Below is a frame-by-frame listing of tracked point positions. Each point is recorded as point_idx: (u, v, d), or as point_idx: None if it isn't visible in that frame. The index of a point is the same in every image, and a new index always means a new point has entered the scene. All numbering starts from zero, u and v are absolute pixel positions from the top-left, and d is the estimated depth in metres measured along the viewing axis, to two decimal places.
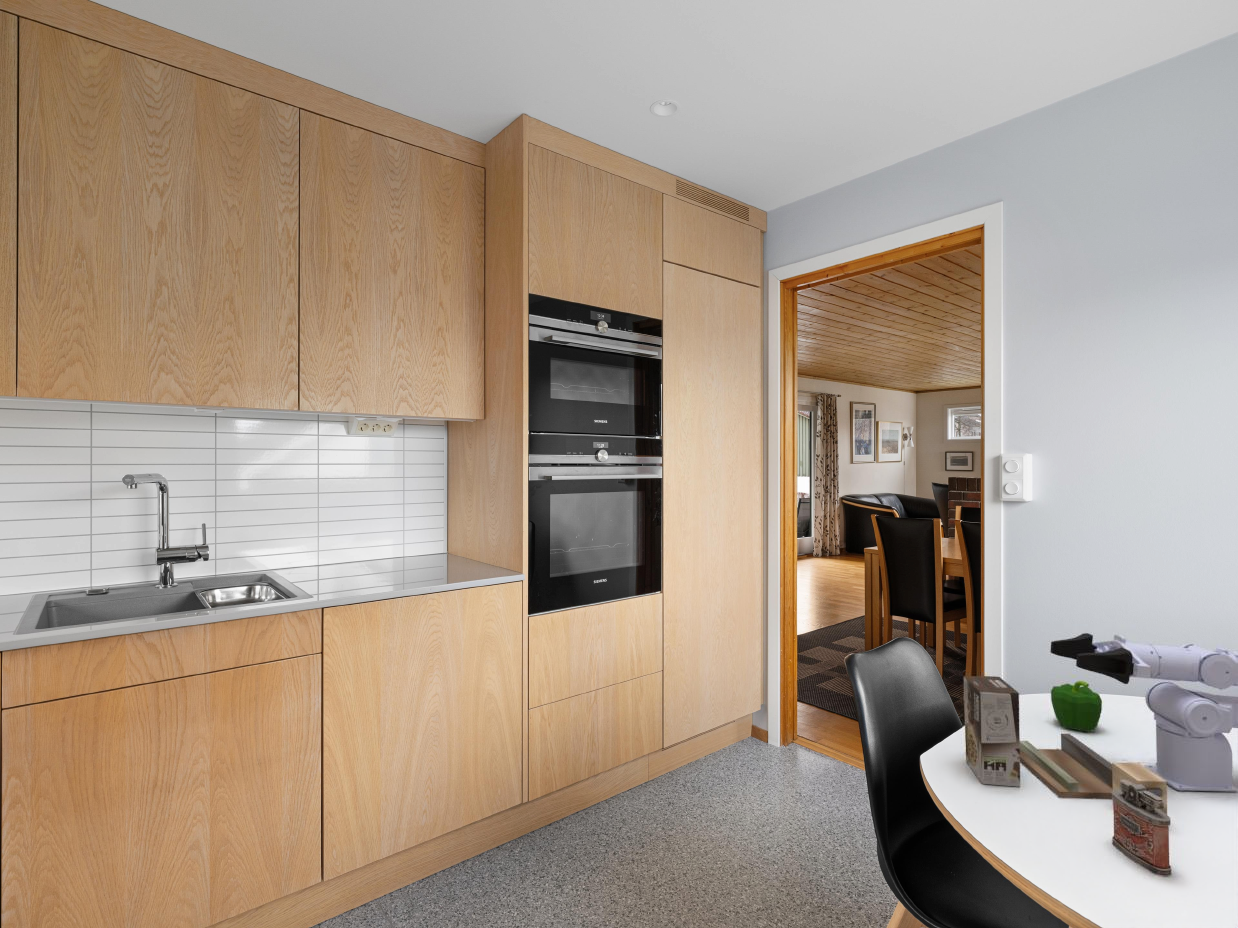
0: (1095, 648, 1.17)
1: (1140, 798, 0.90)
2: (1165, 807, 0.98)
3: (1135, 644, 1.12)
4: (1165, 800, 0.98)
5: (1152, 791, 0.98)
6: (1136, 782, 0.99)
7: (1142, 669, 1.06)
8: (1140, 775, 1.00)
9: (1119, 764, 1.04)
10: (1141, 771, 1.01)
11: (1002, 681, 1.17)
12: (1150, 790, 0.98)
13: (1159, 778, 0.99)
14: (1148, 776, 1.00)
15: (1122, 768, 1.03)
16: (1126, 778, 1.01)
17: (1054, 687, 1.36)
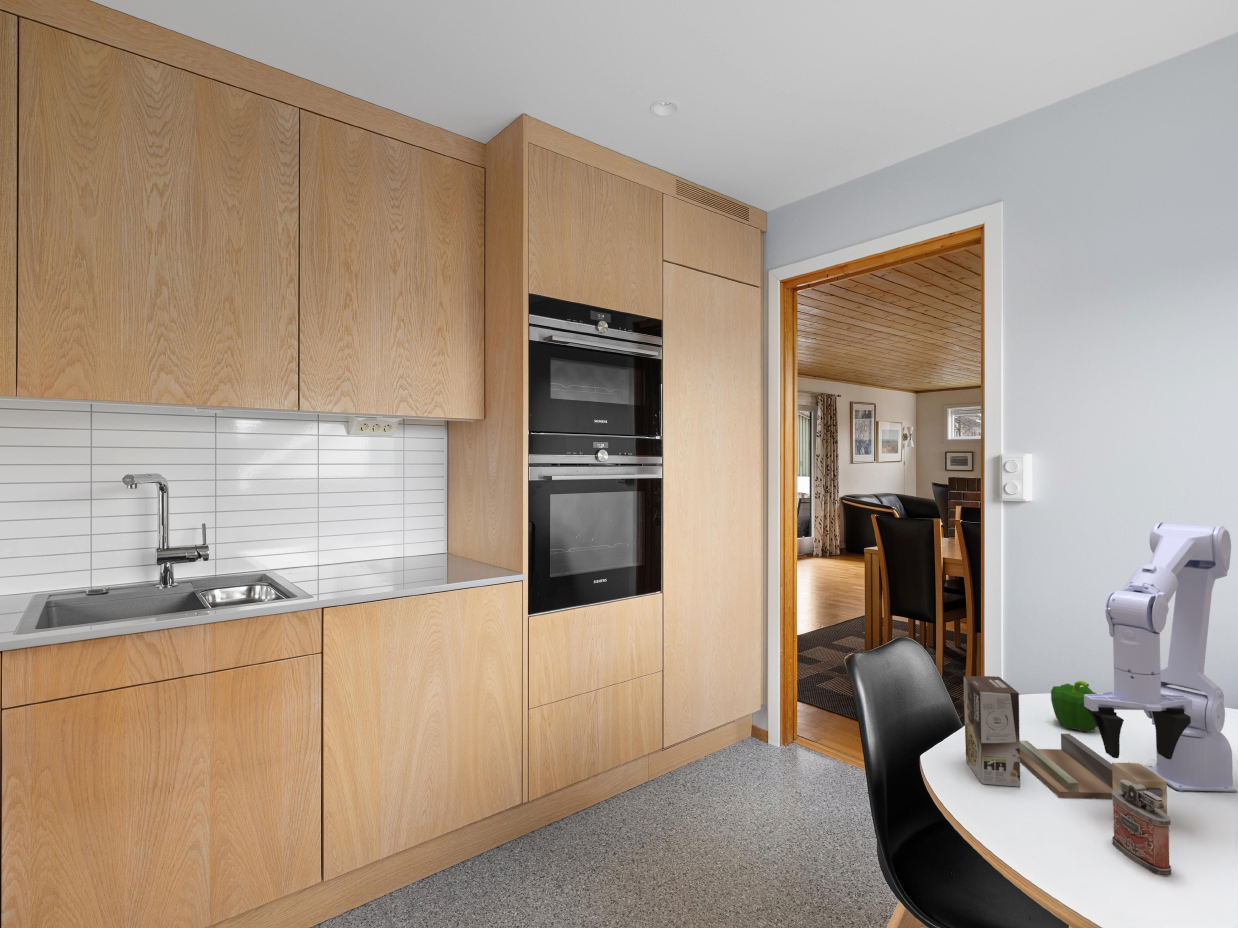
0: None
1: (1140, 798, 0.90)
2: (1165, 807, 0.98)
3: (1152, 690, 0.98)
4: (1165, 800, 0.98)
5: (1152, 791, 0.98)
6: (1136, 782, 0.99)
7: None
8: (1140, 775, 1.00)
9: (1119, 764, 1.04)
10: (1141, 772, 1.01)
11: (1002, 681, 1.17)
12: (1150, 790, 0.98)
13: (1159, 778, 0.99)
14: (1148, 777, 1.00)
15: (1122, 768, 1.03)
16: (1126, 778, 1.01)
17: (1054, 687, 1.36)
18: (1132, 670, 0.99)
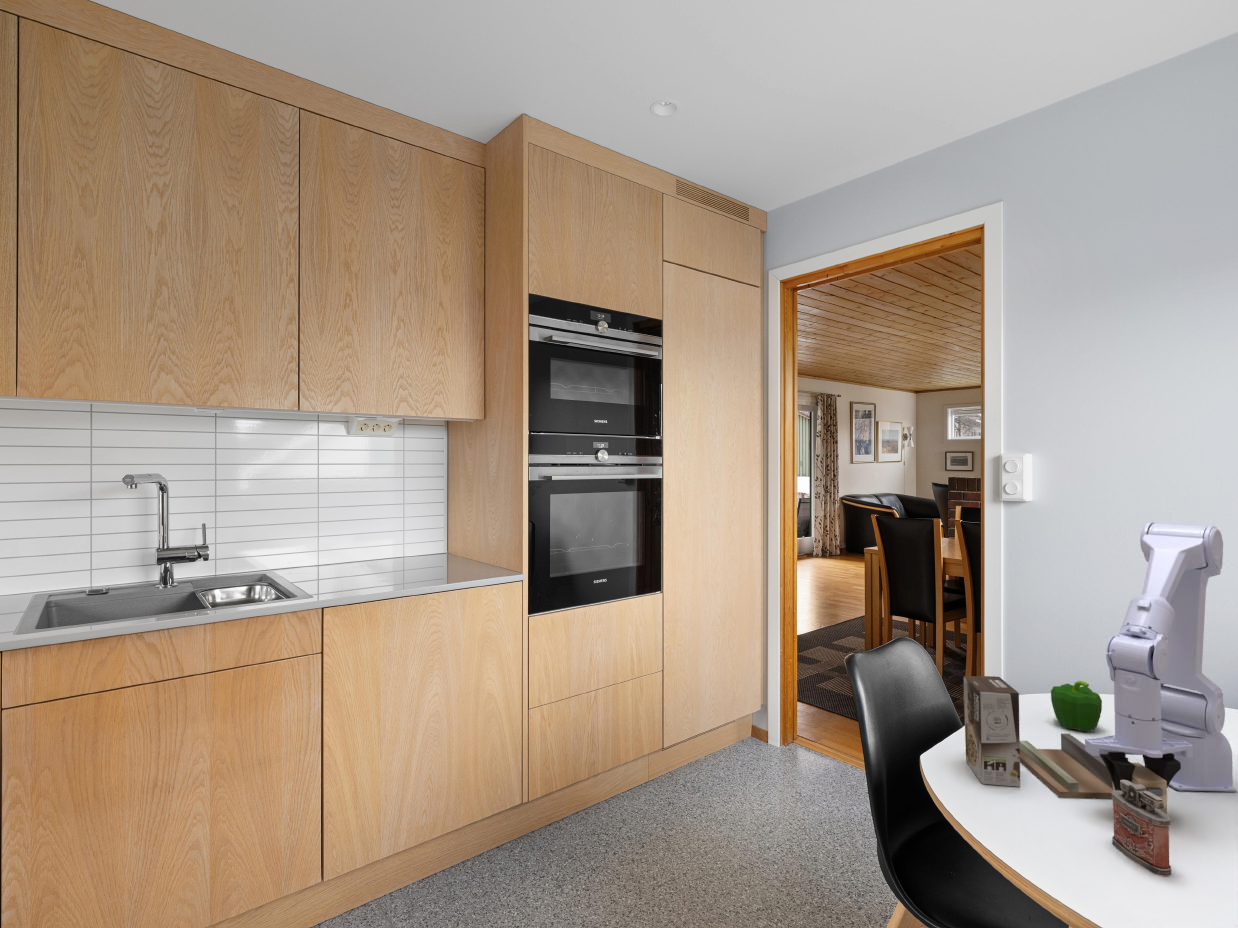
0: None
1: (1140, 798, 0.90)
2: (1165, 807, 0.98)
3: (1153, 736, 0.99)
4: (1165, 800, 0.98)
5: (1152, 791, 0.98)
6: (1136, 782, 0.99)
7: None
8: (1140, 774, 1.00)
9: None
10: (1141, 771, 1.01)
11: (1002, 681, 1.17)
12: (1150, 790, 0.98)
13: (1159, 778, 0.99)
14: (1148, 776, 1.00)
15: None
16: None
17: (1054, 687, 1.36)
18: (1133, 716, 0.99)
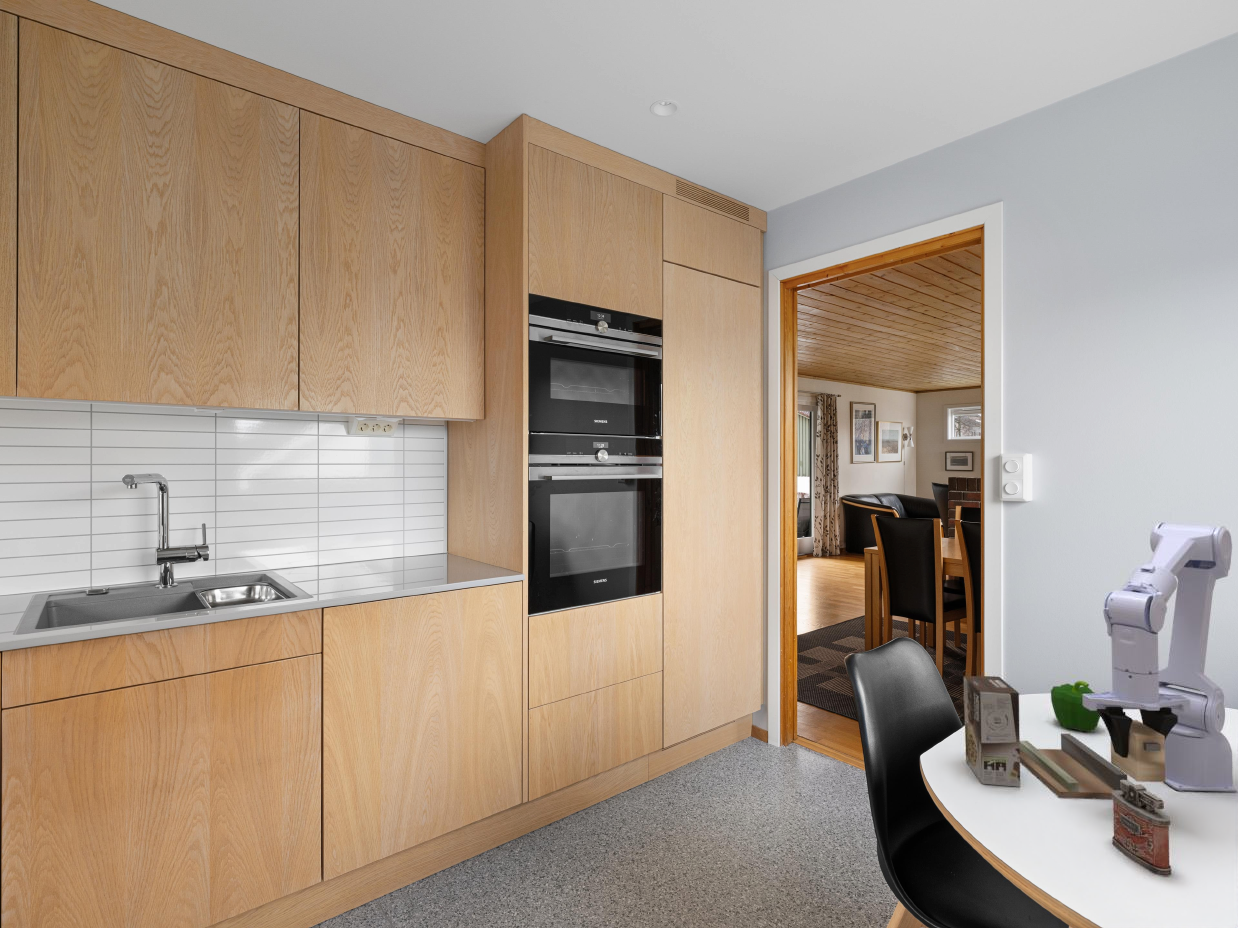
0: None
1: (1140, 798, 0.90)
2: (1163, 762, 0.98)
3: (1150, 690, 0.99)
4: (1163, 755, 0.98)
5: (1150, 745, 0.98)
6: (1134, 737, 0.99)
7: None
8: (1138, 730, 1.00)
9: None
10: (1139, 727, 1.01)
11: (1002, 681, 1.17)
12: (1148, 744, 0.98)
13: (1157, 733, 0.99)
14: (1146, 732, 1.00)
15: None
16: None
17: (1054, 687, 1.36)
18: (1130, 670, 1.00)
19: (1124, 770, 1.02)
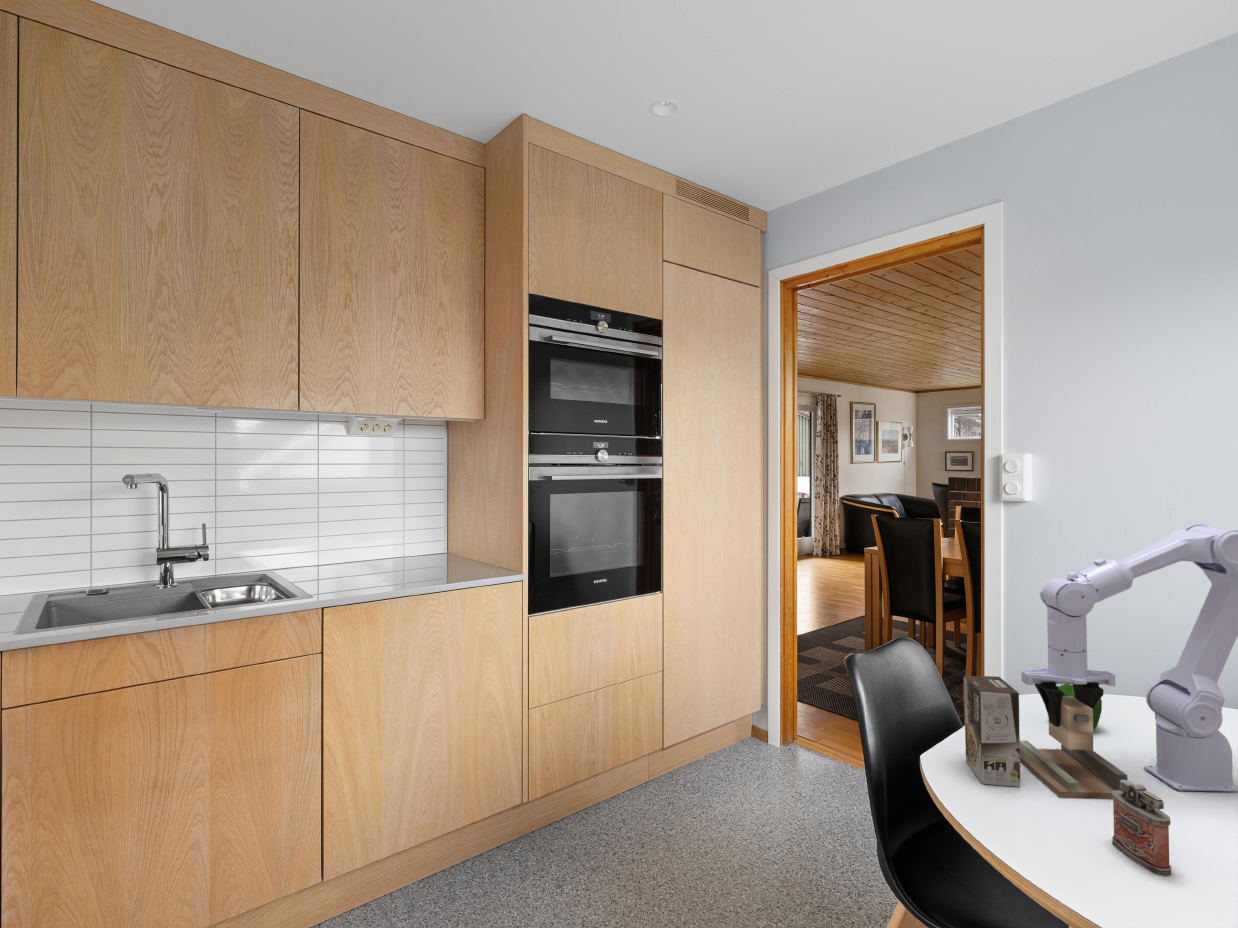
0: None
1: (1140, 798, 0.90)
2: (1091, 732, 1.11)
3: (1079, 666, 1.12)
4: (1091, 725, 1.11)
5: (1080, 717, 1.11)
6: (1066, 710, 1.12)
7: None
8: (1070, 704, 1.13)
9: None
10: (1072, 702, 1.14)
11: (1002, 681, 1.17)
12: (1078, 716, 1.11)
13: (1087, 707, 1.12)
14: (1077, 705, 1.12)
15: None
16: None
17: None
18: (1050, 645, 1.15)
19: (1058, 740, 1.14)
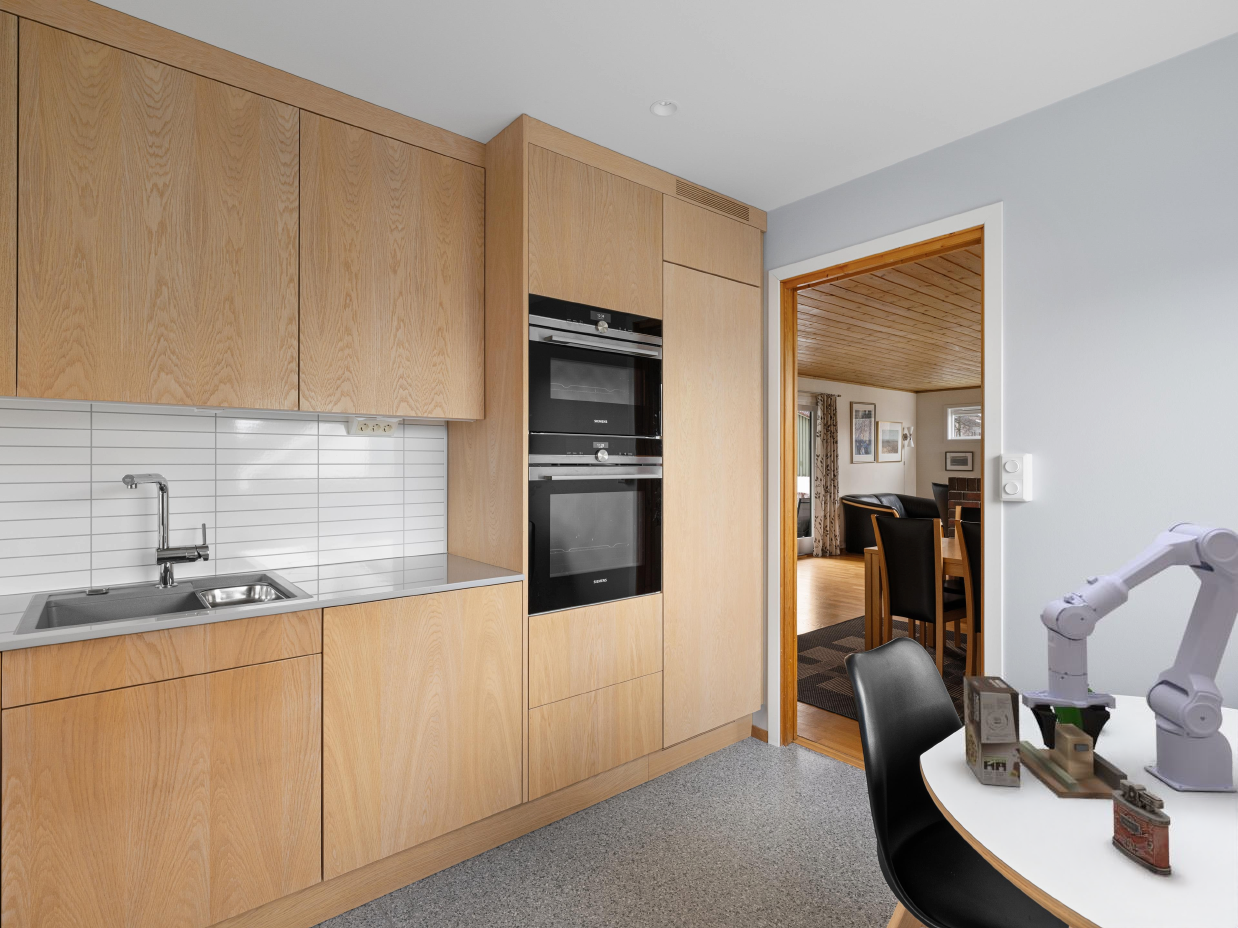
0: None
1: (1140, 798, 0.90)
2: (1091, 761, 1.11)
3: (1079, 689, 1.12)
4: (1091, 755, 1.11)
5: (1080, 746, 1.11)
6: (1066, 739, 1.12)
7: None
8: (1070, 733, 1.13)
9: None
10: (1072, 730, 1.14)
11: (1002, 681, 1.17)
12: (1078, 746, 1.11)
13: (1087, 735, 1.12)
14: (1077, 734, 1.13)
15: (1056, 728, 1.15)
16: (1059, 736, 1.14)
17: None
18: (1051, 668, 1.15)
19: None
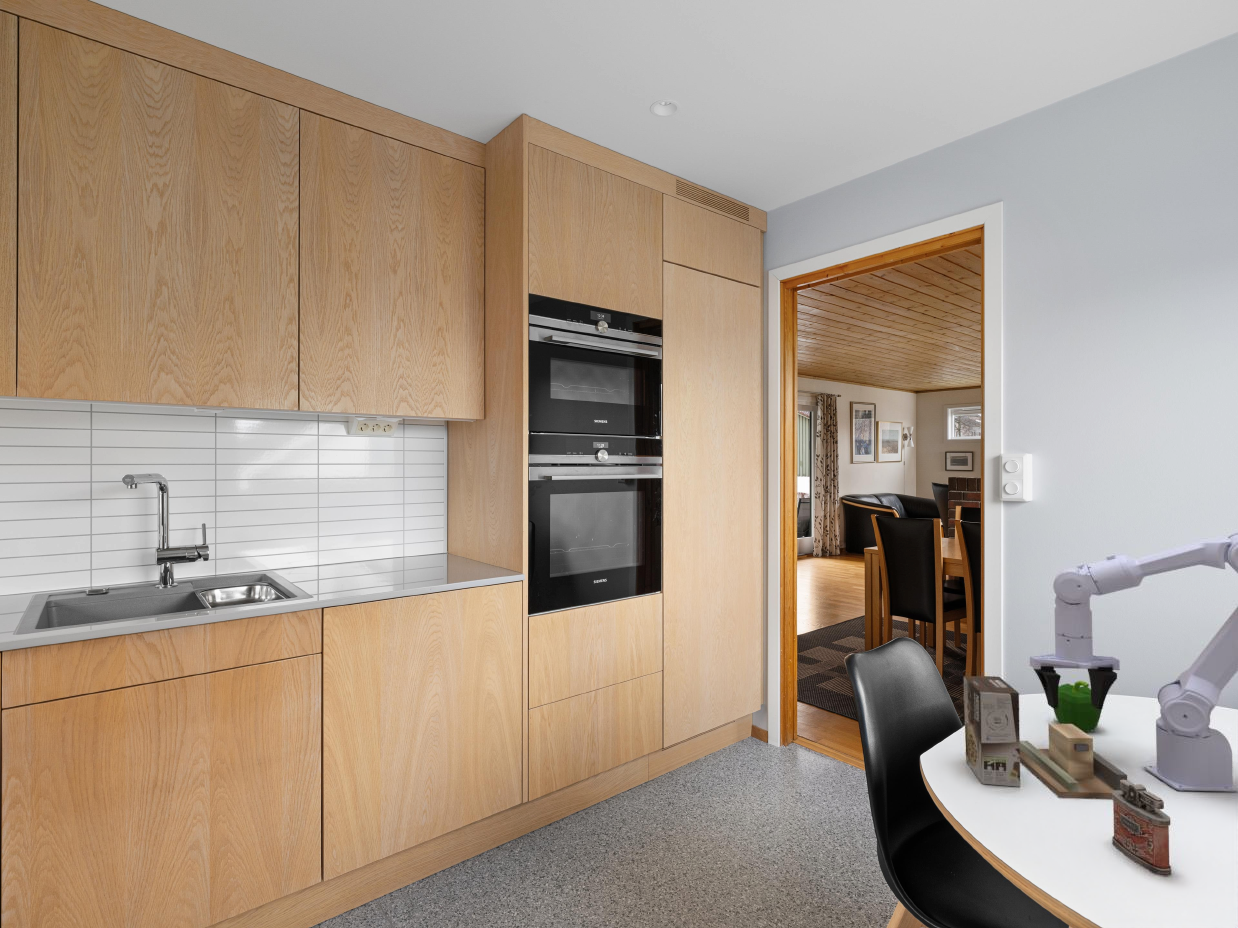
0: None
1: (1140, 798, 0.90)
2: (1091, 761, 1.11)
3: (1084, 651, 1.18)
4: (1091, 755, 1.11)
5: (1080, 746, 1.11)
6: (1066, 739, 1.12)
7: None
8: (1070, 733, 1.13)
9: (1054, 725, 1.17)
10: (1072, 730, 1.14)
11: (1002, 681, 1.17)
12: (1078, 746, 1.11)
13: (1087, 735, 1.12)
14: (1077, 734, 1.13)
15: (1056, 728, 1.15)
16: (1059, 736, 1.14)
17: None
18: (1055, 630, 1.22)
19: None
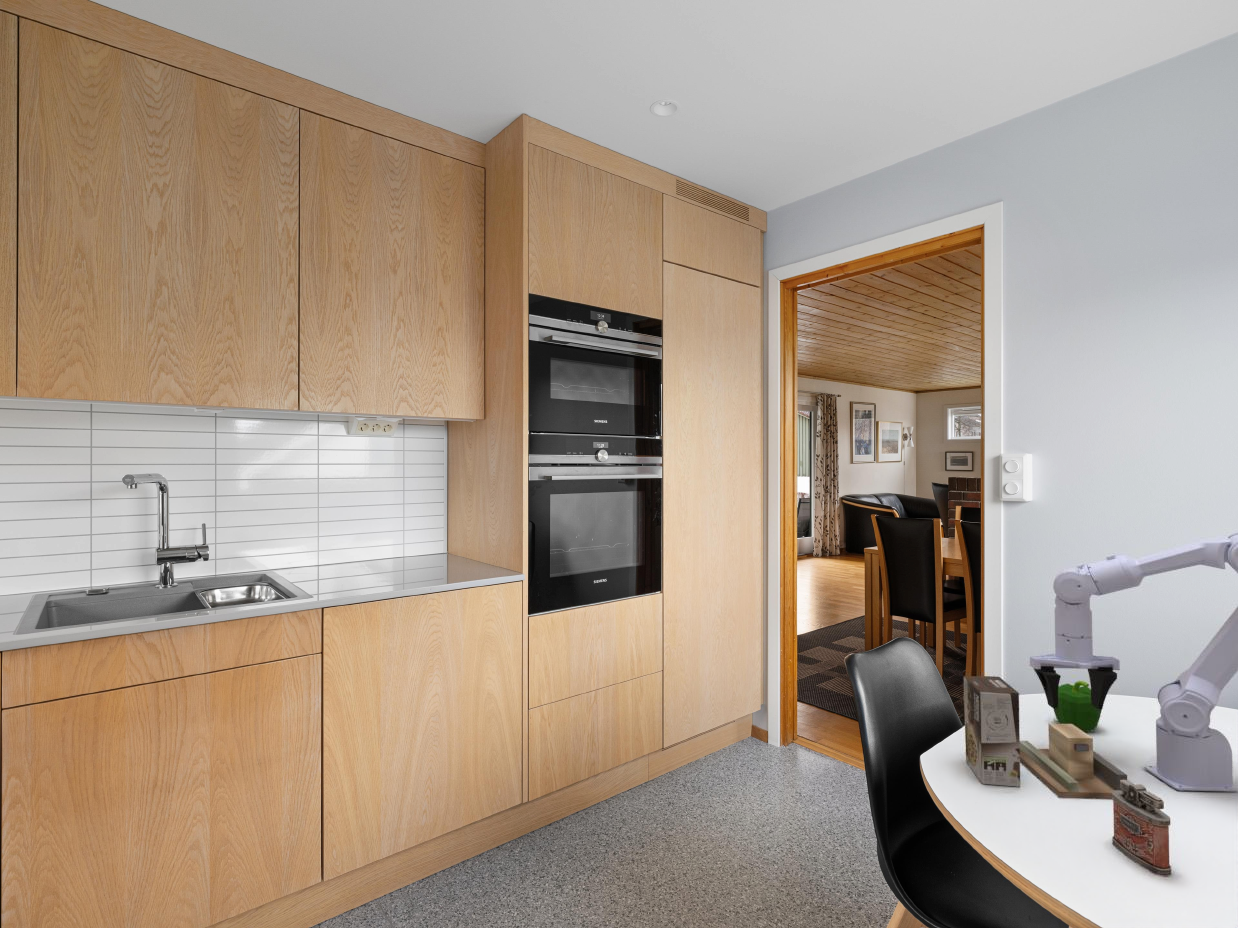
0: None
1: (1140, 798, 0.90)
2: (1091, 761, 1.11)
3: (1084, 651, 1.18)
4: (1091, 755, 1.11)
5: (1080, 746, 1.11)
6: (1066, 739, 1.12)
7: None
8: (1070, 733, 1.13)
9: (1054, 725, 1.17)
10: (1072, 730, 1.14)
11: (1002, 681, 1.17)
12: (1078, 746, 1.11)
13: (1087, 735, 1.12)
14: (1077, 734, 1.13)
15: (1056, 728, 1.15)
16: (1059, 736, 1.14)
17: None
18: (1055, 630, 1.22)
19: None
